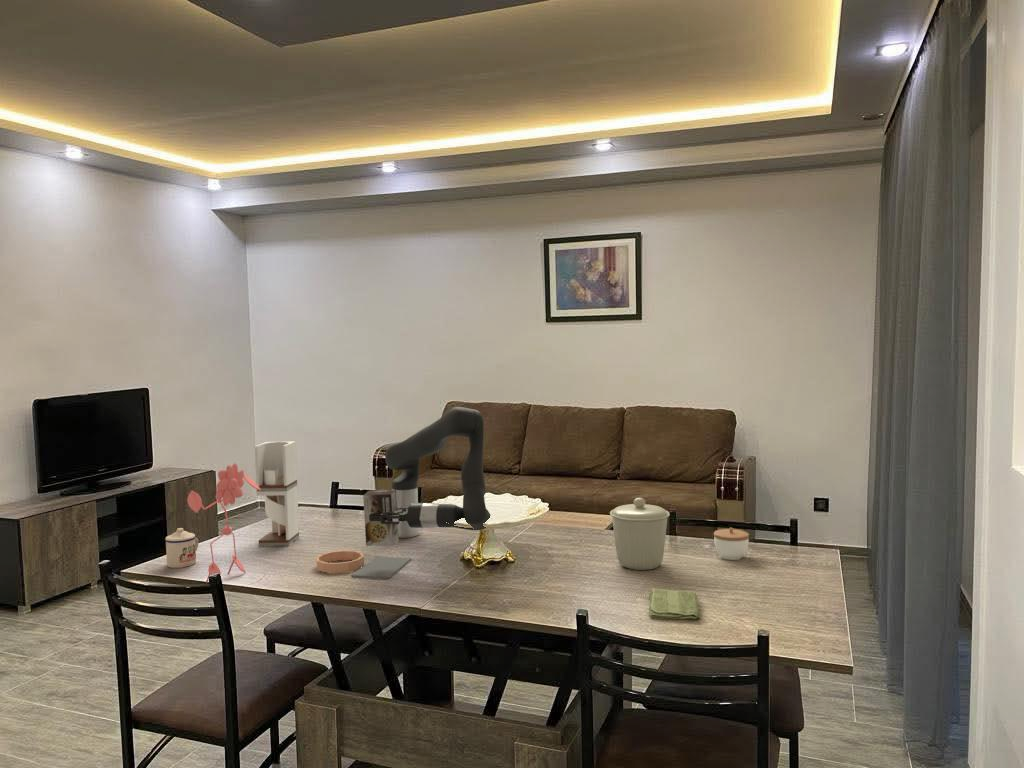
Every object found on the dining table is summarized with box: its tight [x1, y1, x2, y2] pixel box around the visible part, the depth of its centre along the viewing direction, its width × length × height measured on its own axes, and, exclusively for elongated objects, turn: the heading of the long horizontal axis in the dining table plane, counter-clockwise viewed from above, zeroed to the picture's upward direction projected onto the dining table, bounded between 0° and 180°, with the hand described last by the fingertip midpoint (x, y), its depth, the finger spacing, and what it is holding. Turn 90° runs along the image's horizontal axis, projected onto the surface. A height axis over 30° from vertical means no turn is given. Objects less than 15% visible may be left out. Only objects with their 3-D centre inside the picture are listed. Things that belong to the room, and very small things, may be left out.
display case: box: [254, 441, 300, 547], centre depth 274 cm, size 11×11×35 cm
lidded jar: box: [713, 527, 750, 561], centre depth 245 cm, size 11×11×9 cm
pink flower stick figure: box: [187, 462, 265, 588], centre depth 230 cm, size 15×26×35 cm, turn 158°
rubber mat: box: [350, 556, 412, 580], centre depth 241 cm, size 20×12×1 cm, turn 168°
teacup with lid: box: [164, 527, 199, 569], centre depth 250 cm, size 12×9×12 cm
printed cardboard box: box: [362, 489, 400, 547], centre depth 240 cm, size 9×6×16 cm
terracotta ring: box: [315, 549, 365, 574], centre depth 244 cm, size 14×14×3 cm
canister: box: [609, 497, 670, 571], centre depth 238 cm, size 18×18×21 cm
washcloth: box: [648, 588, 702, 621], centre depth 200 cm, size 13×18×3 cm
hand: (374, 514), depth 240 cm, fingers closed on printed cardboard box, 7 cm apart
